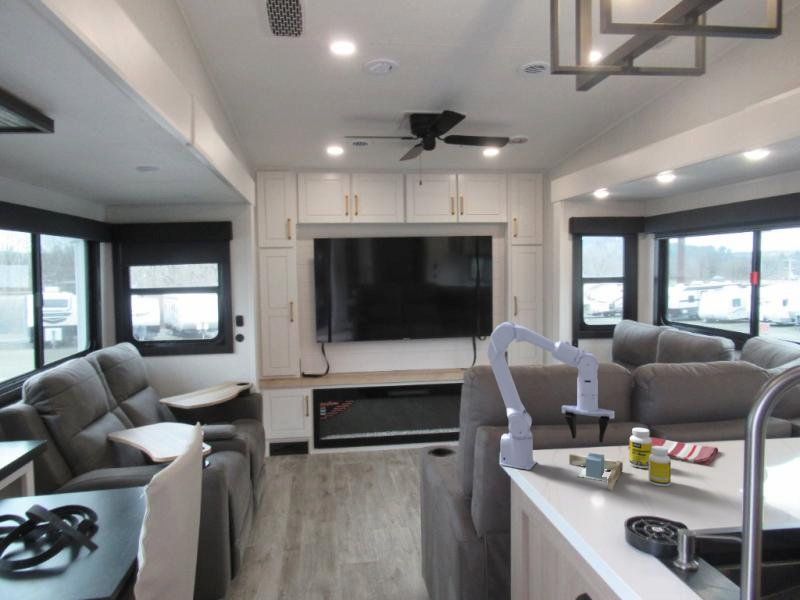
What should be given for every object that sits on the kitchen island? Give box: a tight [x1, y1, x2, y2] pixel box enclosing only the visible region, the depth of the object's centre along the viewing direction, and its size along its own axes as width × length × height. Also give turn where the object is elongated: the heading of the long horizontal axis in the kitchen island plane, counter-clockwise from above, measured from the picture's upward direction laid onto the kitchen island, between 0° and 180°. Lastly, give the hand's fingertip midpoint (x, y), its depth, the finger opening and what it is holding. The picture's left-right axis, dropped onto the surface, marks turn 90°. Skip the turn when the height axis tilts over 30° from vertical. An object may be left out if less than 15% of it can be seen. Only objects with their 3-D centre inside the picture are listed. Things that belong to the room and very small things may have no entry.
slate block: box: [585, 452, 605, 479], centre depth 148 cm, size 6×4×5 cm, turn 149°
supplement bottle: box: [648, 446, 672, 487], centre depth 141 cm, size 5×5×10 cm
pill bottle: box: [629, 427, 652, 469], centre depth 154 cm, size 6×6×11 cm
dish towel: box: [627, 436, 719, 467], centre depth 166 cm, size 17×23×3 cm
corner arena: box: [568, 453, 624, 492], centre depth 146 cm, size 15×16×3 cm
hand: (587, 439), depth 151 cm, fingers open, 7 cm apart
